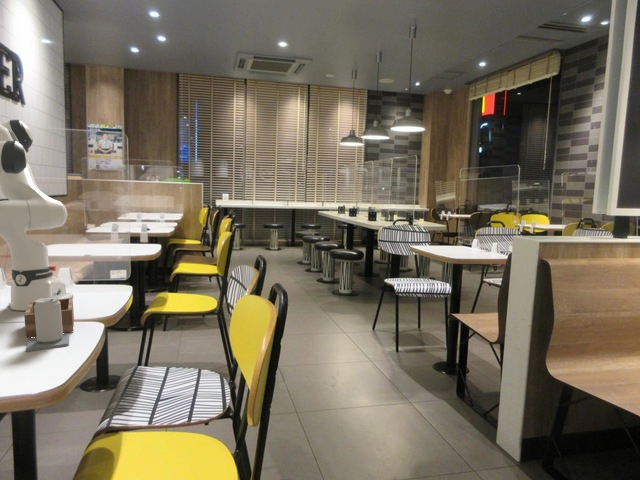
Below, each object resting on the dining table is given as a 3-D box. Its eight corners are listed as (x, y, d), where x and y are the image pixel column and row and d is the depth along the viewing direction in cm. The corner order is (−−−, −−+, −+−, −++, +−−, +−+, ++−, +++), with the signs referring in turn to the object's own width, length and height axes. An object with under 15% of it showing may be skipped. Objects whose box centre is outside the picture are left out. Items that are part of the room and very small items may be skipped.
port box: (31, 323, 142) (29, 302, 141) (74, 317, 148) (72, 297, 147) (26, 338, 128) (24, 315, 127) (73, 332, 134) (71, 309, 133)
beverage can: (47, 345, 121) (44, 303, 120) (31, 342, 123) (28, 301, 122) (68, 338, 127) (65, 297, 125) (52, 335, 129) (49, 295, 128)
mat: (29, 340, 127) (29, 338, 127) (69, 334, 132) (69, 332, 132) (25, 351, 118) (25, 349, 118) (68, 345, 123) (68, 343, 123)
